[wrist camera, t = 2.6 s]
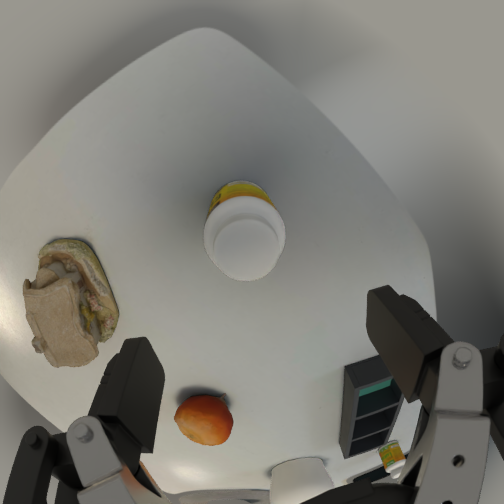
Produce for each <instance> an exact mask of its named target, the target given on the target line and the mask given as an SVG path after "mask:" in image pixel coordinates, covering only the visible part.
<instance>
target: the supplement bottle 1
mask: <svg viewBox="0 0 504 504" xmlns="http://www.w3.org/2000/svg"><path fill="white" fill-rule="evenodd" d="M203 241H204V246H205V250H206V252H207V254H208V256H209V257H210V259H211V260H212V261H213V263H214V264H216V265H217V266H218V268H219V269H220V270H221V271H222V272H223V273H224V274H225V275H226V276H228V277H230V278H232V279H235V280H238V281H253V280H257V279H260V278H262V277H264V276H265V275H267V274H268V273H269V272H270V271H271V270H272V269H273V268H274V266H275V265H276V263H277V261H278V258H279V257H280V255H281V253H282V251H283V249H284V245H285V241H286V231H285V226H284V223H283V220H282V218H281V216H280V214H279V213H278V211H277V210H276V208H275V206H274V205H273V203H272V202H271V200H270V199H269V197H268V195H267V194H266V193H265V191H264V190H263V189H262V188H261V187H259V186H258V185H256V184H254V183H252V182H248V181H234V182H230V183H228V184H226V185H224V186H223V187H221V188H220V189H219V190H218V191H217V193H216V194H215V195H214V197H213V199H212V202H211V205H210V209H209V212H208V215H207V219H206V223H205V226H204V232H203Z"/></svg>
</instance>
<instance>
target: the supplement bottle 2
mask: <svg viewBox="0 0 504 504" xmlns="http://www.w3.org/2000/svg"><path fill="white" fill-rule="evenodd" d="M378 452H379V455H380V457H381V460H382V462H383V465H384V467H385V470H386V472H388V473H391V477H392V478H397V477H399V476H400V473H401V471H402V468H403V466H404V464H405V462H406V459H405V457H404V455H403V453H402V450H401V448H400V446H399V444H398V442H397V441H391V442H389V443H387V444H386V445H384V446H382V447H380V448H379V450H378Z"/></svg>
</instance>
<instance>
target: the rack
mask: <svg viewBox="0 0 504 504" xmlns="http://www.w3.org/2000/svg"><path fill="white" fill-rule="evenodd" d="M403 400H404V395H403V393H402V391H401V390H400V388H399V386H398V385H397V383H396V381H395V380H394V378H393V376H392V375H391V373H390V371H389V370H388V368H387V366H386V365H385V363H384V361H383V360H382V358H381V357H380V355H379V356H376V357H373V358H370V359H367V360H364V361H360V362H357V363H354V364H351V365H348V366H345V371H344V391H343V406H342V419H341V430H340V440H339V444H340V447H341V450H342V453H343V456H344V459H347V458H350V457H353V456H356V455H359V454H362V453H365V452H368V451H371V450H373V449H376V448H379V447H381V446H384V445H386V444H387V442H388V439H389V437H390V434H391V432H392V430H393V427H394V425H395V422H396V419H397V417H398V414H399V411H400V409H401V406H402V403H403Z"/></svg>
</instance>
